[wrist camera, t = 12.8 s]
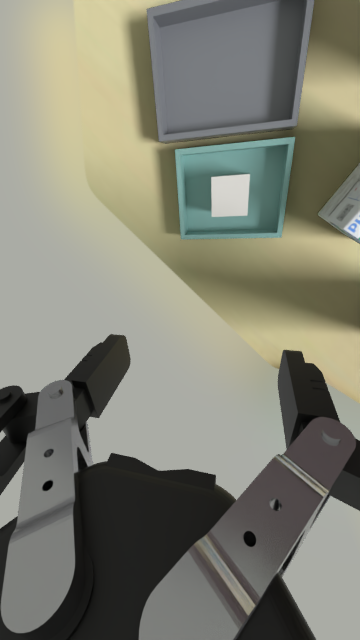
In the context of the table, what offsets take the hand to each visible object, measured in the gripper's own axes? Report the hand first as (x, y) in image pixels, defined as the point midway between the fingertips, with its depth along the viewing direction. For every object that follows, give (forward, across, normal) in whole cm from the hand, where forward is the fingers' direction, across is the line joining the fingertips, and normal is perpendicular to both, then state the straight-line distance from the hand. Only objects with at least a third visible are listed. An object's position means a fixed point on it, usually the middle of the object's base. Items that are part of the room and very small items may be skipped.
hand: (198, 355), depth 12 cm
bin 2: (+30, 0, -5) cm, 30 cm away
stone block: (+29, 0, -5) cm, 29 cm away
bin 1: (+30, +1, -17) cm, 34 cm away
